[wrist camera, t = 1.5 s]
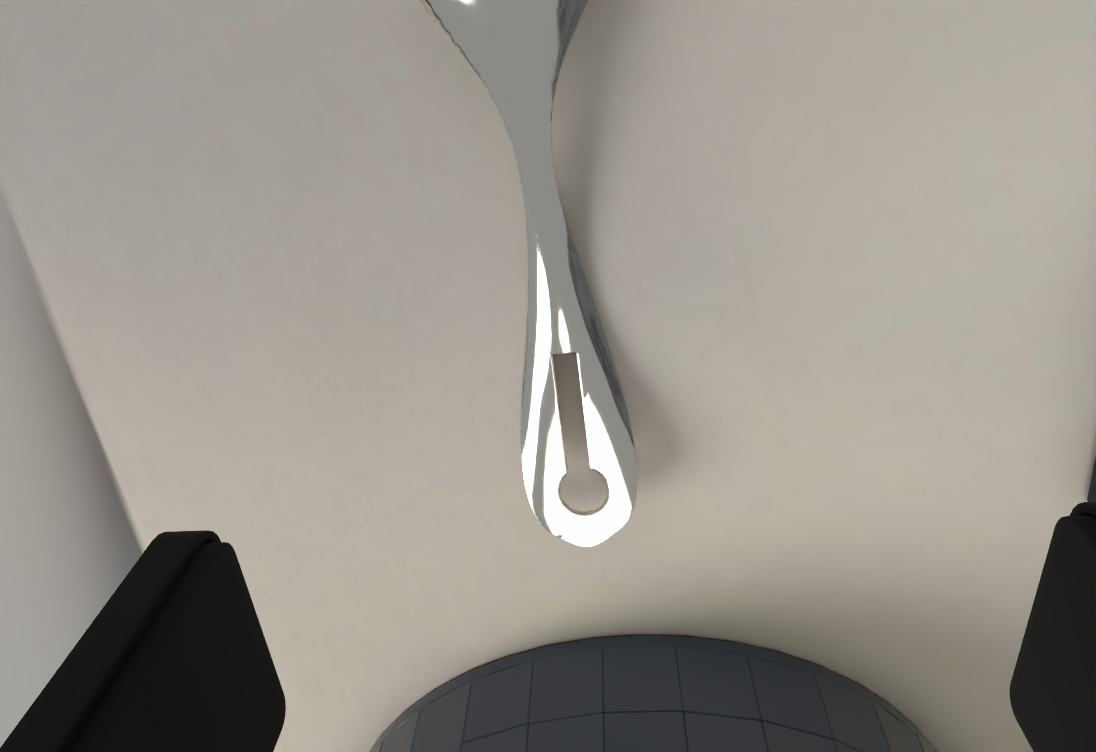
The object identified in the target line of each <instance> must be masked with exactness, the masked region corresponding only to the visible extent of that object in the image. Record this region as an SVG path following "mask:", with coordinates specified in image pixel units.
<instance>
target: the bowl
mask: <svg viewBox="0 0 1096 752" xmlns="http://www.w3.org/2000/svg"><path fill="white" fill-rule="evenodd" d="M370 752H937V751H936V750H935V749H934V748H933V746H932V745H931V744H930V743H929V742H928V740H927V739H926V738H925V737H924V736H923V734H922V733H921V732H920V731H919V730H918V728H917V727H916V726H915V725H914V724H912V723H911V722H910V721H909V720H908V719H907V718H905V717H904V716H903V715H902V714H901V713H900V712H898V711H897V710H896V709H895V708H894V707H893V706H891V705H890V704H889V703H888V702H886V701H884V700H883V699H881V698H880V697H878V696H876V695H875V694H873V693H872V692H870V691H869V690H867V689H865V688H864V687H862V686H861V685H859V684H857V683H856V682H853V681H851V680H849V679H847V678H845V677H843V676H841V675H838V674H836V673H834V672H832V671H830V670H828V669H825V668H823V667H821V666H819V665H816V664H813V663H810V662H807V661H804V660H801V659H798V658H795V657H792V656H789V655H786V654H783V653H780V652H777V651H772V650H767V649H763V648H758V647H754V646H749V645H745V644H740V643H736V642H730V641H721V640H713V639H704V638H696V637H688V636H653V635H633V636H619V637H605V638H591V639H585V640H579V641H573V642H567V643H561V644H555V645H549V646H544V647H541V648H537V649H534V650H530V651H526V652H523V653H519V654H515V655H512V656H508V657H504V658H502V659H499V660H497V661H494V662H492V663H489V664H487V665H484V666H482V667H479V668H477V669H474V670H471V671H469V672H466V673H464V674H463V675H461V676H459V677H457V678H455V679H453V680H452V681H450V682H448V683H446V684H444V685H442V686H440V687H439V688H437V689H435V690H433V691H432V692H430V693H429V694H428V695H426V696H425V697H423V698H422V699H421V700H419V701H418V702H417V703H415V704H414V705H413V706H411V707H410V708H408V709H407V710H406V711H404V712H403V713H402V714H401V715H400V716H399V717H398V718H397V719H396V720H395V721H394V722H393V723H392V724H391V725H390V726H389V727H388V728H387V729H386V730H385V731H384V732H383V734H382V735H381V736H380V738H379V739H378V741H377V742H376V743H375V745H374V746H373V748H372V749H371V750H370Z"/></svg>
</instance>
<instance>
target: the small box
mask: <svg viewBox="0 0 1096 752" xmlns="http://www.w3.org/2000/svg"><path fill="white" fill-rule="evenodd" d="M1087 500H1088V502H1096V459H1095V464H1094V468H1093V473H1092V479H1091V484H1090V490H1089V494H1088V498H1087Z"/></svg>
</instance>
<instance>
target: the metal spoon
mask: <svg viewBox="0 0 1096 752" xmlns="http://www.w3.org/2000/svg"><path fill="white" fill-rule="evenodd" d="M419 1H420V2H421V3H422V5H423V6H424V8H425V9H426V11H427V12H428V13H429V14H430V16H431V17H432V18H433V20H434V21H435V22H436V24H437V25H438V26H439V27H440V28H441V30H442V31H443V32H444V33H445V35H446V36H447V37H448V38H449V39H450V41H451V42H452V43H453V44H454V45H455V47H456V48H457V49H458V50H459V52H460V53H461V54H462V55H463V56H464V58H465V59H466V60H467V61H468V63H469V64H470V65H471V67H472V68H473V69H474V71H475V72H476V73H477V75H478V76H479V77H480V79H481V80H482V82H483V83H484V85H485V86H486V88H487V90H488V91H489V93H490V95H491V97H492V98H493V100H494V102H495V104H496V106H497V108H498V110H499V112H500V114H501V117H502V119H503V121H504V123H505V126H506V128H507V131H508V134H509V136H510V139H511V142H512V145H513V148H514V152H515V156H516V159H517V163H518V167H519V172H520V177H521V182H522V187H523V194H524V200H525V209H526V219H527V234H528V304H527V324H526V340H525V354H524V369H523V386H522V408H521V454H522V467H523V476H524V482H525V487H526V492H527V496H528V499H529V502H530V505H531V507H532V510H533V512H534V514H535V516H536V517H537V519H538V520H539V522H540V523H541V524H542V525H543V527H544V528H545V529H547V530H548V531H549V532H550V533H552V534H554V535H555V536H557V537H560V538H562V539H564V540H566V541H568V542H570V543H572V544H575V545H578V546H582V547H590V546H595V545H597V544H599V543H601V542H603V541H604V540H606V539H607V538H608V537H610V536H611V535H613V534H614V533H616V532H617V531H618V530H620V529H621V528H622V527H623V526H624V525H625V524H626V522H627V521H628V519H629V518H630V516H631V514H632V511H633V509H634V505H635V501H636V495H637V482H638V477H637V462H636V454H635V447H634V441H633V436H632V431H631V426H630V422H629V418H628V413H627V410H626V406H625V402H624V398H623V395H622V391H621V388H620V384H619V381H618V378H617V374H616V371H615V368H614V365H613V362H612V359H611V356H610V353H609V350H608V347H607V344H606V341H605V338H604V335H603V332H602V329H601V326H600V323H599V320H598V317H597V315H596V312H595V309H594V306H593V303H592V300H591V297H590V294H589V292H588V289H587V286H586V283H585V280H584V277H583V274H582V272H581V269H580V266H579V263H578V260H577V257H576V254H575V251H574V248H573V245H572V242H571V238H570V235H569V232H568V229H567V225H566V222H565V218H564V214H563V211H562V207H561V202H560V198H559V194H558V189H557V184H556V179H555V173H554V165H553V157H552V140H551V124H552V109H553V101H554V94H555V88H556V83H557V79H558V75H559V71H560V68H561V65H562V62H563V59H564V56H565V53H566V50H567V48H568V45H569V43H570V40H571V38H572V35H573V33H574V30H575V28H576V26H577V23H578V21H579V18H580V16H581V14H582V11H583V9H584V6H585V4H586V2H587V0H419ZM569 353H576V356H577V365H578V373H579V381H580V389H581V398H582V406H583V414H584V423H585V431H586V439H587V448H588V456H589V464H590V468H591V469H593V470H595V471H597V472H599V473H600V474H601V475H602V476H603V477H604V478H605V480H606V482H607V484H608V495H607V498H606V500H605V501H604V503H603V504H602V505H601V506H600V507H598V508H597V509H595V510H592V511H584V512H583V511H578V510H575V509H573V508H571V507H569V506H568V505H567V504H566V503H565V502H564V500H563V499H562V497H561V494H560V483H561V481H562V479H563V477H564V476H565V475H566V474H567V473H568V467H567V459H566V451H565V444H564V436H563V428H562V420H561V412H560V405H559V397H558V389H557V381H556V374H555V366H554V358H553V355H559V354H569Z"/></svg>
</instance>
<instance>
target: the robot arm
mask: <svg viewBox="0 0 1096 752" xmlns="http://www.w3.org/2000/svg"><path fill="white" fill-rule="evenodd" d="M1010 700H1011V706H1012V709H1013V713H1014V715H1015V718H1016V720H1017V722H1018V724H1019V726H1020V727H1021V729H1022V731H1023V733H1024V735H1025V737H1026V738H1027V740H1028V742H1029V744H1030V746H1031V747H1032V749H1033V751H1034V752H1096V502H1084V503H1080V504H1078V505H1077V506H1076V507H1075V508H1074V509H1073V510H1072V512H1071V514H1070V516H1066V517H1062V518H1060V519H1059V520H1058V522H1057V524H1056V526H1055V529H1054V532H1053V536H1052V539H1051V543H1050V546H1049V550H1048V554H1047V557H1046V561H1045V564H1044V568H1043V571H1042V575H1041V578H1040V582H1039V585H1038V589H1037V592H1036V596H1035V599H1034V603H1033V606H1032V610H1031V613H1030V617H1029V620H1028V624H1027V628H1026V631H1025V635H1024V638H1023V642H1022V645H1021V649H1020V652H1019V656H1018V659H1017V663H1016V666H1015V670H1014V673H1013V677H1012V680H1011V684H1010ZM285 709H286V705H285V697H284V693H283V690H282V687H281V684H280V681H279V679H278V676H277V673H276V670H275V667H274V664H273V661H272V658H271V655H270V652H269V649H268V646H267V644H266V641H265V638H264V635H263V632H262V629H261V626H260V623H259V620H258V617H257V614H256V612H255V609H254V606H253V603H252V600H251V597H250V594H249V591H248V588H247V585H246V582H245V580H244V577H243V574H242V571H241V568H240V565H239V562H238V559H237V556H236V553H235V551H234V549H233V547H232V546H231V545H230V544H229V543H225V542H223V543H221V541H220V539H219V537H218V535H217V534H215V533H214V532H213V531H179V532H164V533H161V534H159V535H158V536H157V537H156V538H155V539H154V540H153V541H152V542H151V543H150V545H149V546H148V547H147V549H146V550H145V551H144V553H143V554H142V556H141V557H140V558H139V560H138V561H137V562H136V564H135V565H134V566H133V568H132V569H131V571H130V572H129V573H128V575H127V576H126V577H125V579H124V580H123V581H122V583H121V584H120V586H119V587H118V588H117V590H116V591H115V593H114V594H113V595H112V596H111V598H110V599H109V601H108V602H107V603H106V605H105V606H104V607H103V609H102V610H101V611H100V613H99V614H98V616H97V617H96V618H95V620H94V621H93V622H92V624H91V625H90V626H89V628H88V629H87V630H86V632H85V633H84V635H83V636H82V637H81V639H80V640H79V641H78V643H77V644H76V645H75V647H74V648H73V650H72V651H71V652H70V654H69V655H68V656H67V658H66V659H65V661H64V662H63V663H62V665H61V666H60V667H59V669H58V670H57V671H56V673H55V674H54V676H53V677H52V678H51V680H50V681H49V682H48V684H47V685H46V687H45V688H44V689H43V690H42V692H41V693H40V695H39V696H38V697H37V699H36V700H35V701H34V703H33V704H32V706H31V707H30V708H29V710H28V711H27V712H26V714H25V715H24V716H23V718H22V719H21V720H20V722H19V723H18V725H17V726H16V727H15V729H14V730H13V731H12V733H11V734H10V735H9V737H8V738H7V740H6V741H5V742H4V744H3V745H2V746H1V748H0V752H273V751H274V748H275V745H276V743H277V740H278V738H279V735H280V733H281V730H282V727H283V724H284V719H285Z"/></svg>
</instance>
